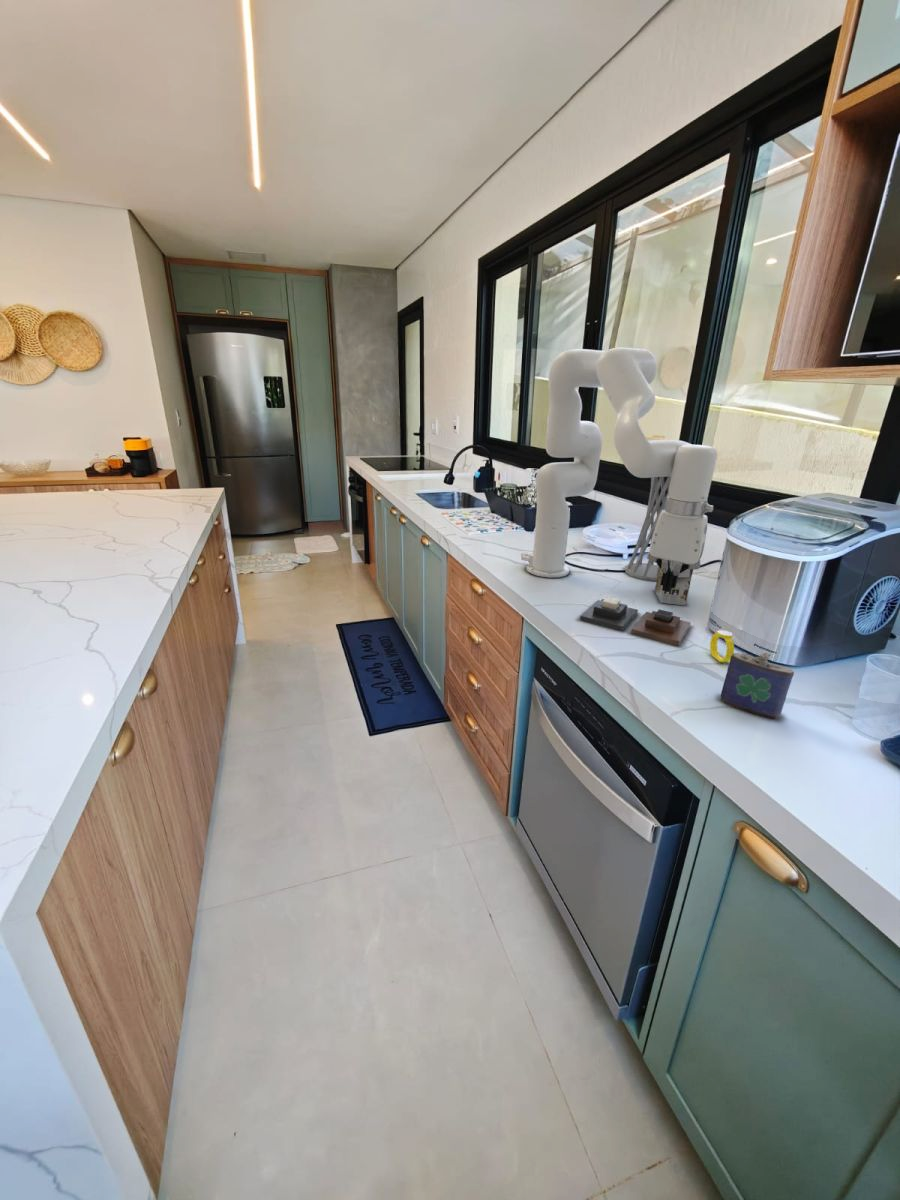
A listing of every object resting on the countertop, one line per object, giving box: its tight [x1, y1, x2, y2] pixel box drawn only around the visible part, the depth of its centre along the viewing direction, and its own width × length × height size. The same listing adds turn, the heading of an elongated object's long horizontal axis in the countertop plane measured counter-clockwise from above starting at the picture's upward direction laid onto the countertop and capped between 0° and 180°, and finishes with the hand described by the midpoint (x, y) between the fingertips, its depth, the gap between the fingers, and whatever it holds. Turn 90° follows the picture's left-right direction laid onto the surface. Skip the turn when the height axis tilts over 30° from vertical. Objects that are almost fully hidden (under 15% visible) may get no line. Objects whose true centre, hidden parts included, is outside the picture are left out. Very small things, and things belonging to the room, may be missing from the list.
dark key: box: [654, 608, 674, 623], centre depth 113 cm, size 3×3×2 cm
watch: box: [709, 629, 735, 663], centre depth 101 cm, size 6×3×6 cm, turn 4°
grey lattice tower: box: [624, 476, 671, 582], centre depth 144 cm, size 14×13×35 cm
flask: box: [719, 651, 795, 720], centre depth 85 cm, size 9×3×11 cm, turn 51°
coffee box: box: [654, 560, 694, 606], centre depth 130 cm, size 9×6×16 cm
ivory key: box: [602, 596, 621, 610], centre depth 119 cm, size 3×3×2 cm
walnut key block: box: [630, 610, 692, 647], centre depth 114 cm, size 10×12×3 cm
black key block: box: [579, 598, 639, 632], centre depth 120 cm, size 10×12×3 cm
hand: (667, 589), depth 111 cm, fingers closed
